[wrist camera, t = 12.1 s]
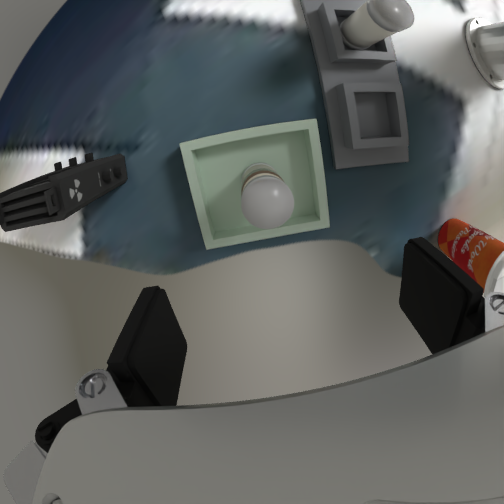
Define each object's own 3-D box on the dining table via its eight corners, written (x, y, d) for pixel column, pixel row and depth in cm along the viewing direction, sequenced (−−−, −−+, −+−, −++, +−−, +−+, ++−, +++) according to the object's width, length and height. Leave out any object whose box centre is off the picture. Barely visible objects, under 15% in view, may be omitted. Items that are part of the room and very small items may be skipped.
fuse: (365, 22, 22) (406, -6, 13) (372, 51, 24) (419, 31, 14) (333, 20, 22) (367, -13, 13) (340, 50, 24) (380, 25, 15)
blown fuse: (275, 159, 30) (290, 173, 20) (281, 194, 31) (297, 224, 22) (238, 166, 30) (236, 183, 21) (245, 201, 31) (246, 233, 22)
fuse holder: (374, 1, 21) (386, -8, 18) (404, 160, 30) (419, 165, 27) (299, -3, 21) (305, -15, 18) (333, 167, 31) (343, 172, 27)
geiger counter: (129, 144, 29) (54, 163, 15) (134, 181, 30) (66, 224, 17) (61, 161, 28) (-20, 191, 15) (67, 194, 30) (-9, 238, 17)
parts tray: (309, 119, 28) (316, 118, 26) (322, 218, 33) (329, 227, 31) (185, 142, 29) (179, 143, 26) (209, 239, 34) (206, 249, 31)
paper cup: (458, 201, 33) (523, 238, 20) (471, 236, 35) (527, 277, 22) (425, 234, 35) (486, 284, 22) (441, 267, 37) (493, 318, 25)
